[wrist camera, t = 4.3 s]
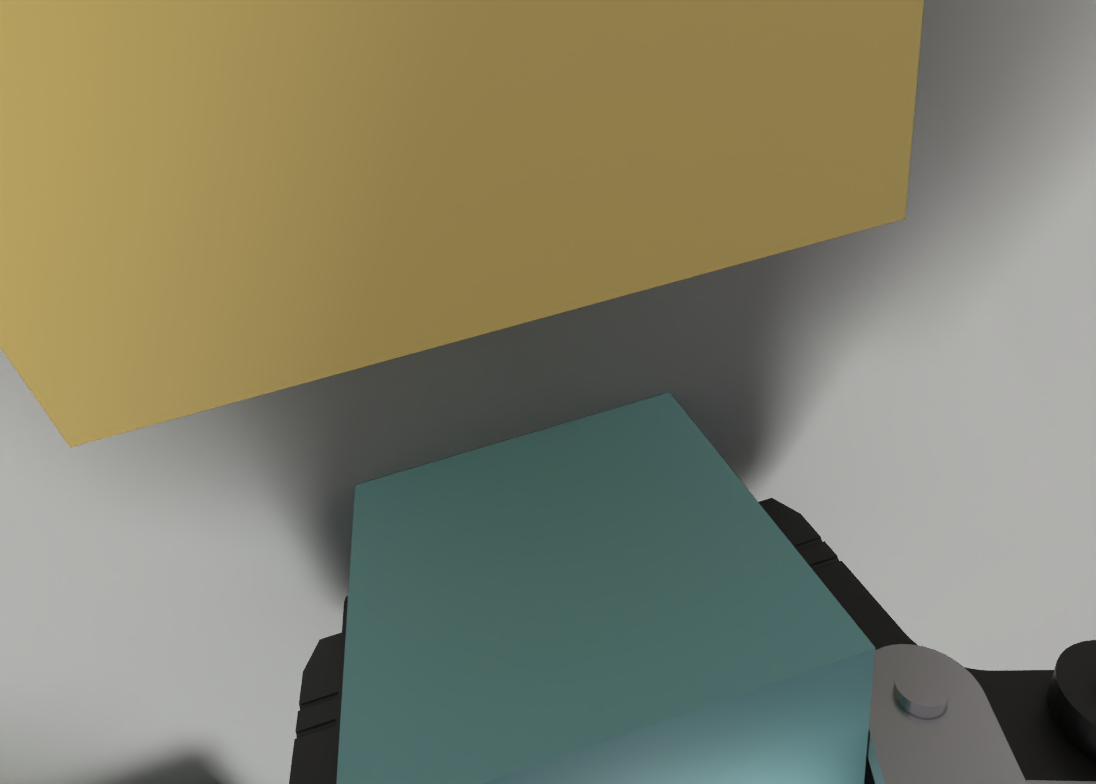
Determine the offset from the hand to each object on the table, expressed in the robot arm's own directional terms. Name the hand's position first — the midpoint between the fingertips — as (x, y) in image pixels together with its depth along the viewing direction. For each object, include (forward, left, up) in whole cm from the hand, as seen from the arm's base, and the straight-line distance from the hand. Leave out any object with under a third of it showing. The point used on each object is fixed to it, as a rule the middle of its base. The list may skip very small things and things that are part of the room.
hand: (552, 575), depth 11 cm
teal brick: (0, 0, 0) cm, 0 cm away
